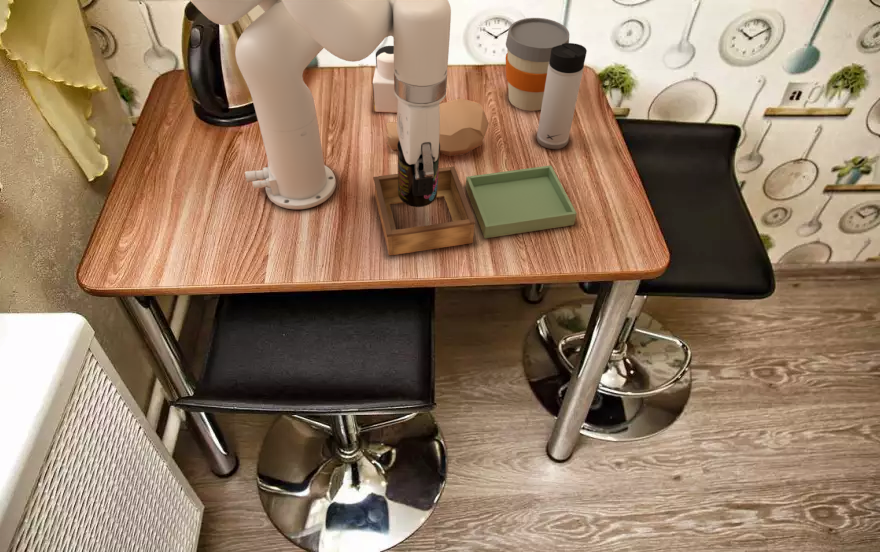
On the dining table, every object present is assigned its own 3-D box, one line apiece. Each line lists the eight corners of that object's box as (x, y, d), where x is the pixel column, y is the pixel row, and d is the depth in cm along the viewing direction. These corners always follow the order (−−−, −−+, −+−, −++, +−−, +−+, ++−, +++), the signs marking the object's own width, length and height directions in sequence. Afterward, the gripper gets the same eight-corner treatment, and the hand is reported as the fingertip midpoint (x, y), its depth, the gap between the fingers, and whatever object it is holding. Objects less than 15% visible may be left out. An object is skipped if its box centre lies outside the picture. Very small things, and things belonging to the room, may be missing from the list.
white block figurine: (378, 93, 134) (374, 40, 125) (411, 94, 134) (410, 42, 125) (374, 112, 130) (370, 59, 121) (408, 113, 130) (407, 61, 121)
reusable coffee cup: (513, 77, 139) (521, 11, 128) (566, 92, 136) (579, 26, 125) (490, 105, 132) (496, 38, 121) (546, 122, 128) (558, 55, 117)
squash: (492, 160, 120) (491, 127, 113) (390, 173, 122) (382, 141, 114) (486, 119, 126) (485, 85, 118) (389, 132, 127) (381, 99, 119)
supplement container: (420, 215, 102) (422, 165, 94) (389, 196, 104) (388, 146, 97) (445, 193, 106) (449, 144, 98) (414, 176, 108) (415, 127, 100)
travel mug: (551, 154, 122) (569, 60, 106) (530, 137, 125) (544, 44, 110) (575, 144, 124) (596, 50, 109) (554, 127, 127) (571, 34, 112)
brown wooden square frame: (388, 256, 103) (386, 235, 99) (374, 198, 112) (373, 176, 109) (473, 243, 105) (475, 222, 102) (453, 187, 115) (454, 165, 111)
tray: (484, 238, 106) (485, 226, 104) (465, 188, 115) (466, 176, 113) (574, 225, 109) (576, 213, 107) (549, 176, 117) (551, 165, 115)
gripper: (384, 52, 93) (386, 148, 107) (405, 121, 83) (405, 218, 96) (433, 49, 95) (429, 144, 108) (460, 116, 84) (452, 212, 98)
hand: (418, 178), depth 102 cm, fingers closed on supplement container, 6 cm apart
